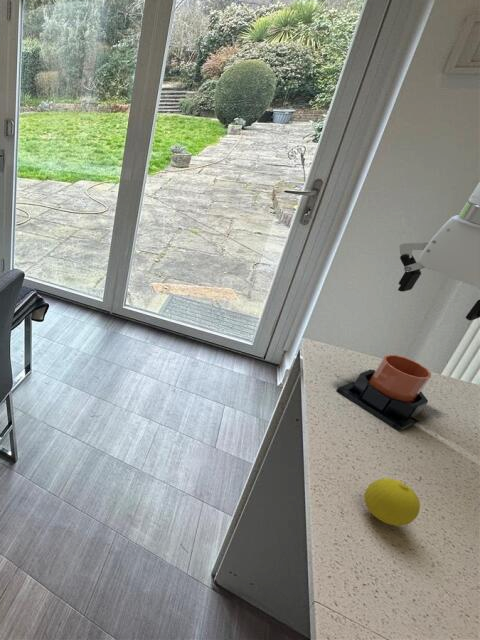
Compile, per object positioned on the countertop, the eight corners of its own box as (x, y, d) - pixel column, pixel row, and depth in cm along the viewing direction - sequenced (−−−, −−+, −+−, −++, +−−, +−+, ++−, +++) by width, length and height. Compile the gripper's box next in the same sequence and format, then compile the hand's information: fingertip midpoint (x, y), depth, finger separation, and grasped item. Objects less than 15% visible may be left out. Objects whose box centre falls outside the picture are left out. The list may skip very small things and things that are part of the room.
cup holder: (367, 378, 91) (377, 363, 89) (431, 415, 82) (443, 399, 80) (336, 390, 87) (345, 375, 85) (399, 431, 78) (411, 414, 76)
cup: (372, 387, 88) (396, 351, 84) (411, 410, 83) (438, 373, 78) (353, 395, 86) (376, 359, 82) (392, 419, 81) (418, 382, 76)
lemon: (368, 531, 62) (395, 498, 58) (347, 496, 66) (370, 464, 63) (412, 541, 60) (441, 508, 57) (387, 504, 65) (413, 472, 62)
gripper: (588, 235, 61) (514, 327, 69) (439, 198, 76) (392, 277, 84) (565, 241, 59) (491, 335, 67) (415, 202, 73) (369, 283, 81)
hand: (436, 303), depth 75 cm, fingers open, 9 cm apart
